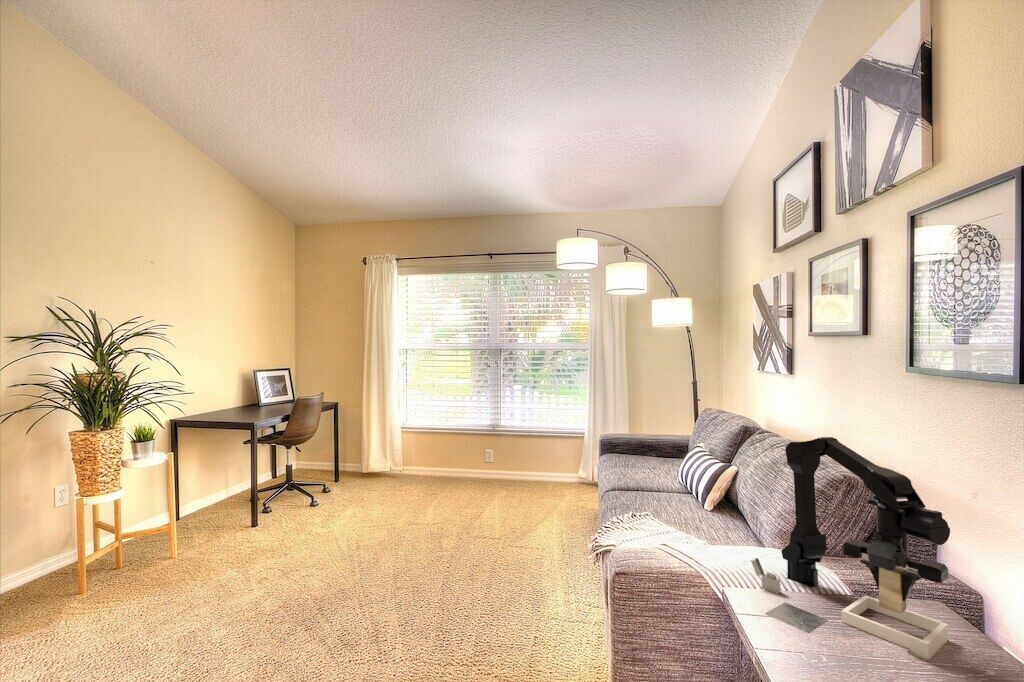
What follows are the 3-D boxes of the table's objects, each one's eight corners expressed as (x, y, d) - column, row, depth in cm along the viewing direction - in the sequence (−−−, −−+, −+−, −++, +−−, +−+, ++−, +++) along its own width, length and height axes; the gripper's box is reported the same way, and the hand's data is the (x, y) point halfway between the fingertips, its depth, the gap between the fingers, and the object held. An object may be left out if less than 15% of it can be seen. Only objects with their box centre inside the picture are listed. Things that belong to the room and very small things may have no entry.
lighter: (780, 595, 128) (780, 565, 129) (777, 597, 127) (777, 566, 128) (753, 585, 134) (753, 556, 134) (750, 587, 133) (750, 557, 133)
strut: (885, 601, 114) (885, 563, 115) (906, 609, 111) (906, 569, 111) (879, 606, 112) (878, 567, 112) (900, 614, 109) (899, 573, 109)
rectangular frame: (841, 625, 114) (841, 610, 114) (865, 609, 122) (864, 595, 122) (928, 661, 101) (927, 644, 101) (948, 640, 109) (947, 624, 109)
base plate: (764, 617, 117) (764, 613, 117) (784, 606, 123) (784, 602, 123) (808, 637, 109) (808, 633, 109) (828, 624, 114) (828, 620, 114)
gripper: (832, 523, 115) (832, 589, 115) (932, 549, 100) (933, 625, 99) (851, 515, 122) (851, 578, 121) (948, 538, 106) (949, 610, 106)
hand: (892, 596), depth 112 cm, fingers closed on strut, 4 cm apart
